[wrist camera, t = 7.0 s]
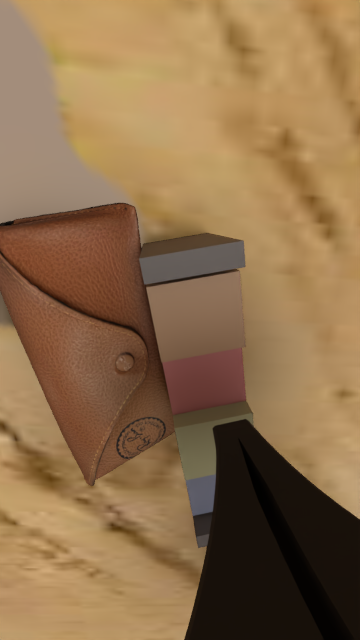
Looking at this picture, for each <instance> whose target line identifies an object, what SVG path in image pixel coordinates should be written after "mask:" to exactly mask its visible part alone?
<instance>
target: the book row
mask: <svg viewBox="0 0 360 640" xmlns="http://www.w3.org/2000/svg"><path fill="white" fill-rule="evenodd" d="M139 261H140V266H141V271H142V276H143V281H144V285H145V284H146V289H147V294H148V299H149V304H150V309H151V314H152V319H153V324H154V328H155V333H156V338H157V343H158V348H159V353H160V358H161V363H162V364H163V368H164V373H165V378H166V383H167V388H168V393H169V398H170V403H171V408H172V413H173V420H174V429H175V433H176V438H177V443H178V448H179V453H180V458H181V463H182V468H183V473H184V477H185V480H186V485H187V490H188V494H189V499H190V504H191V509H192V514H193V519H194V526H195V533H196V539H197V544H198V548H200V547H205V546H207V544H208V539H209V533H210V527H211V520H212V513H213V505H214V494H215V482H216V447H215V441H214V435H213V429H212V428H213V427H214V426H215V425H220V424H225V423H229V422H234V421H238V420H243V419H247V420H248V421H249V422H250V423H251V424H252V425H253V413H252V411H251V409H250V407H249V405H248V403H247V402H246V393H245V381H244V370H243V358H242V347H246V344H245V331H244V319H243V306H242V293H241V280H240V271H239V270H237V269H236V268H242V267H245V254H244V241H243V240H238V239H233V238H229V237H224V236H219V235H214V234H210V233H205V234H199V235H193V236H187V237H181V238H175V239H169V240H163V241H157V242H152V243H146V244H143V247H142V250H141V254H140V257H139ZM253 426H254V425H253Z"/></svg>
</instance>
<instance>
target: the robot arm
mask: <svg viewBox="0 0 360 640" xmlns="http://www.w3.org/2000/svg"><path fill="white" fill-rule="evenodd" d="M212 429H213V435H214V441H215V447H216V482H215V494H214V505H213V513H212V520H211V527H210V533H209V539H208V544H207V550H206V555H205V560H204V565H203V569H202V574H201V578H200V582H199V586H198V590H197V595H196V599H195V603H194V607H193V611H192V615H191V618H190V622H189V626H188V629H187V632H186V636H185V639H184V640H360V519H358V518H357V517H356V516H354V515H353V514H351V513H350V512H349V511H347V510H346V509H344V508H343V507H342V506H340V505H339V504H338V503H336V502H335V501H334V500H332V499H331V498H330V497H329V496H327V495H326V494H325V493H323V492H322V491H321V490H320V489H318V488H317V487H316V486H315V485H314V484H312V483H311V482H310V481H309V480H308V479H307V478H305V477H304V476H303V475H302V474H301V473H300V472H298V471H297V470H296V469H295V468H294V467H293V466H292V465H291V464H290V463H289V462H288V461H287V460H285V459H284V458H283V457H282V456H281V455H280V454H279V453H278V452H277V451H276V450H275V449H274V448H273V447H272V446H271V445H270V444H269V443H268V442H267V441H266V440H265V439H264V438H263V436H262V435H261V434H260V433H259V432H258V431H257V430H256V429H255V428H254V426H253V425H252V424H251V423H250V422H249V421H248V420H247V419H243V420H238V421H234V422H229V423H225V424H220V425H215V426H214V427H213V428H212Z"/></svg>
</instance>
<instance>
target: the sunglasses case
mask: <svg viewBox="0 0 360 640" xmlns="http://www.w3.org/2000/svg"><path fill="white" fill-rule="evenodd" d="M141 250H142V248H141V243H140V235H139V229H138V218H137V214H136V210H135V207H134V206H132V205H129V204H126V203H113V204H107V205H100V206H95V207H90V208H85V209H80V210H74V211H67V212H59V213H52V214H44V215H39V216H34V217H26V218H20V219H15V220H13V221H8V222H4V223H1V224H0V291H1V294H2V296H3V299H4V302H5V304H6V306H7V308H8V311H9V314H10V316H11V318H12V321H13V323H14V326H15V328H16V330H17V333H18V335H19V337H20V340H21V342H22V344H23V346H24V349H25V351H26V353H27V356H28V358H29V360H30V362H31V365H32V368H33V369H34V371H35V374H36V376H37V378H38V381H39V383H40V385H41V387H42V390H43V392H44V394H45V397H46V399H47V401H48V403H49V405H50V408H51V410H52V412H53V415H54V417H55V419H56V421H57V423H58V425H59V428H60V430H61V432H62V434H63V436H64V438H65V441H66V442H67V444H68V446H69V448H70V450H71V452H72V454H73V456H74V458H75V460H76V461H77V463H78V465H79V467H80V469H81V471H82V473H83V475H84V479H85V480H86V482H87V484H88V485H90V486H93V485H94V482H95V480H96V479H98V478H100V477H102V476H104V475H105V474H107V473H109V472H110V471H112V470H113V469H115V468H117V467H118V466H120V465H122V464H123V463H125V462H126V461H128V460H130V459H132V458H133V457H135V456H137V455H138V454H140V453H141V452H143V451H145V450H146V449H148V448H150V447H151V446H153V445H154V444H156V443H158V442H160V441H161V440H163V439H164V438H166V437H168V436H169V435H171V434H172V433H173V432H175V429H174V420H173V413H172V408H171V403H170V398H169V393H168V388H167V383H166V378H165V373H164V368H163V364H162V363H161V358H160V353H159V348H158V343H157V338H156V333H155V328H154V324H153V319H152V314H151V309H150V304H149V299H148V294H147V289H146V284H145V285H144V281H143V276H142V271H141V266H140V261H139V257H140V254H141Z"/></svg>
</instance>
